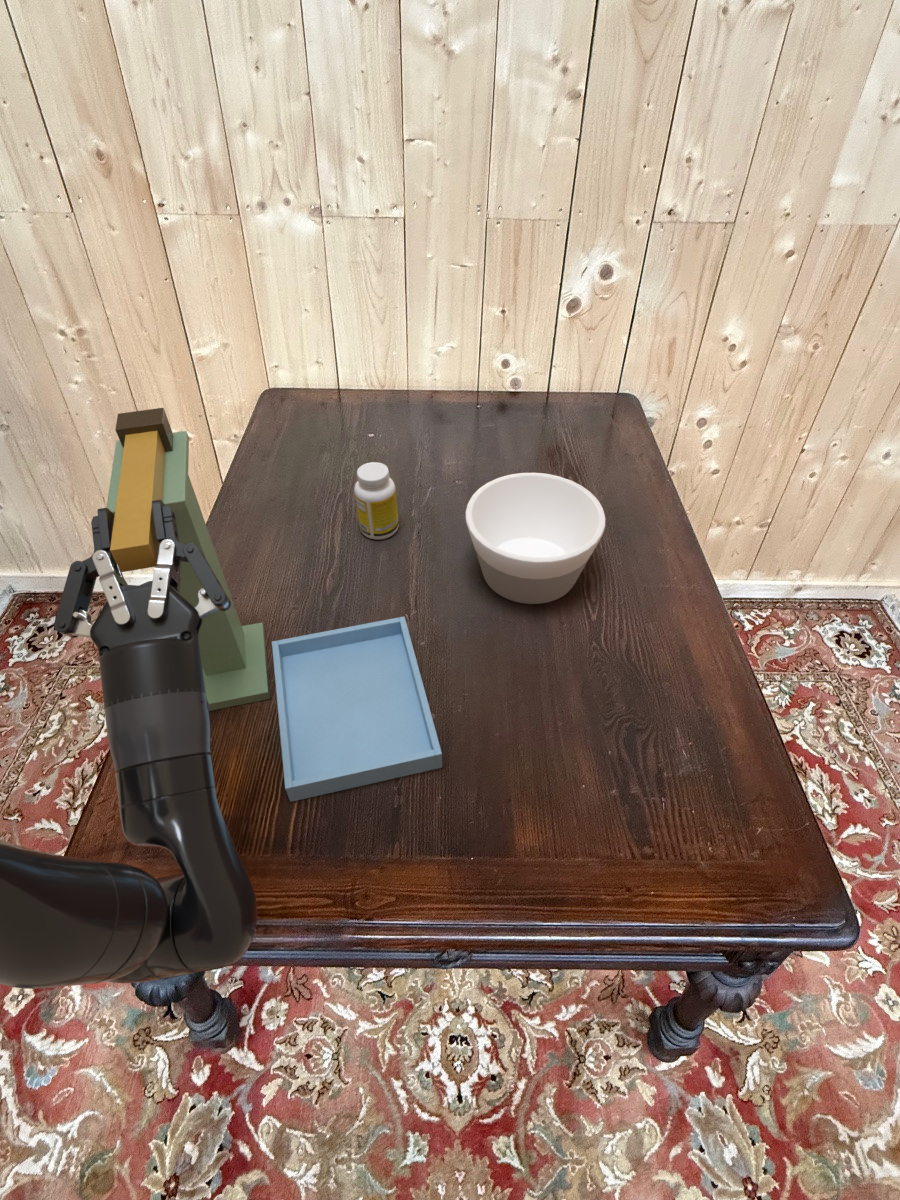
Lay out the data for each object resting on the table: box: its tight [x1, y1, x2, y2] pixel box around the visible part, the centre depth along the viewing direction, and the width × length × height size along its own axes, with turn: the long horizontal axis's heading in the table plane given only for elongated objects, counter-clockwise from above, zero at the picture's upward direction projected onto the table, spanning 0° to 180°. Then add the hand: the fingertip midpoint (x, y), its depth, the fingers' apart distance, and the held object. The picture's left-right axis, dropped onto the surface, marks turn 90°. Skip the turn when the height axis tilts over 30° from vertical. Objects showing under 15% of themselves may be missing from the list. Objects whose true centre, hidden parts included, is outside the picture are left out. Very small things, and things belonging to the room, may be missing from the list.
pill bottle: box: [353, 461, 400, 541], centre depth 106 cm, size 6×6×11 cm
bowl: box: [465, 472, 607, 605], centre depth 99 cm, size 19×19×11 cm
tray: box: [271, 616, 443, 803], centre depth 85 cm, size 18×22×3 cm
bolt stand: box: [105, 430, 271, 712], centre depth 79 cm, size 10×12×32 cm
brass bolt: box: [110, 407, 174, 573], centre depth 63 cm, size 4×20×3 cm, turn 14°
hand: (132, 508), depth 59 cm, fingers open, 3 cm apart
